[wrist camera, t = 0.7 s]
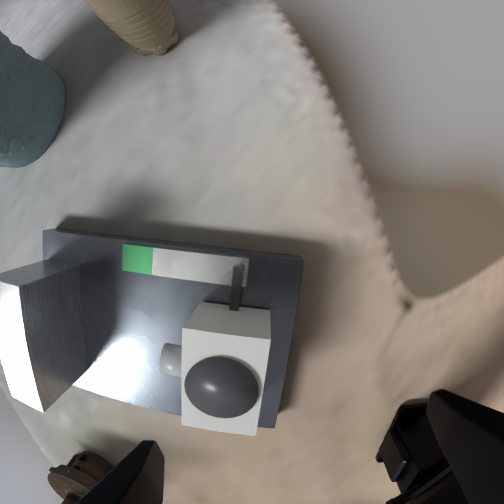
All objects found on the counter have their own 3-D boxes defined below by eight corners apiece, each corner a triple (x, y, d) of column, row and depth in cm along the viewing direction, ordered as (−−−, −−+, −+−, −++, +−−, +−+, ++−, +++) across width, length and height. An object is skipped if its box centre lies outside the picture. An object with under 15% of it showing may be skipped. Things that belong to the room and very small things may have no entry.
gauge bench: (300, 256, 18) (322, 289, 11) (274, 415, 20) (275, 492, 13) (55, 228, 19) (-19, 240, 11) (66, 371, 21) (15, 416, 13)
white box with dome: (275, 269, 17) (278, 289, 13) (258, 395, 18) (255, 438, 14) (177, 257, 17) (150, 272, 13) (174, 382, 18) (154, 421, 14)
